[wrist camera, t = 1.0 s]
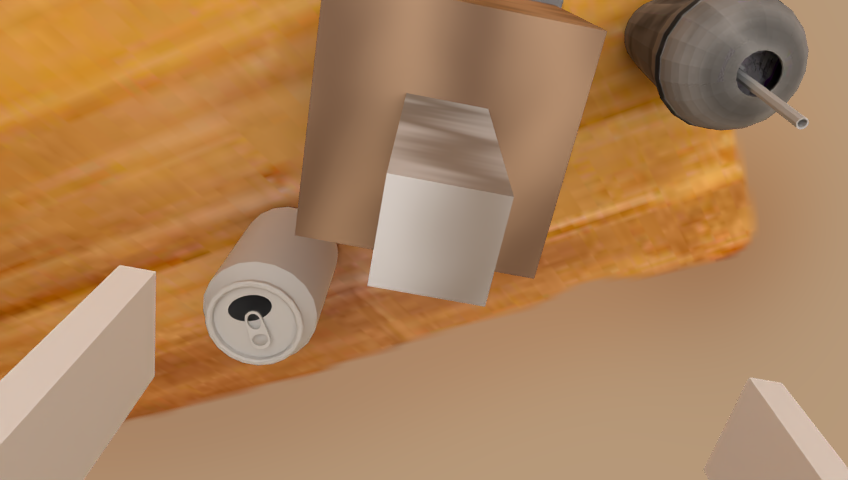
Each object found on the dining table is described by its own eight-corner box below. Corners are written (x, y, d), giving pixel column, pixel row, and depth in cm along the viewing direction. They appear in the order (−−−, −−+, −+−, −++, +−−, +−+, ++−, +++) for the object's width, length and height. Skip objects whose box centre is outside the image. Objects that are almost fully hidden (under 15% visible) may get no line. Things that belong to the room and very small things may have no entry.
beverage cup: (724, -21, 42) (938, 2, 24) (698, 90, 45) (871, 185, 27) (614, -27, 42) (744, -9, 24) (595, 84, 45) (699, 175, 27)
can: (321, 192, 49) (286, 261, 38) (352, 275, 52) (328, 361, 41) (231, 216, 50) (173, 290, 39) (267, 296, 53) (222, 386, 42)
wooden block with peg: (336, 153, 47) (224, 372, 23) (362, -35, 42) (251, -12, 17) (507, 185, 48) (577, 431, 24) (554, 5, 43) (706, 80, 18)
